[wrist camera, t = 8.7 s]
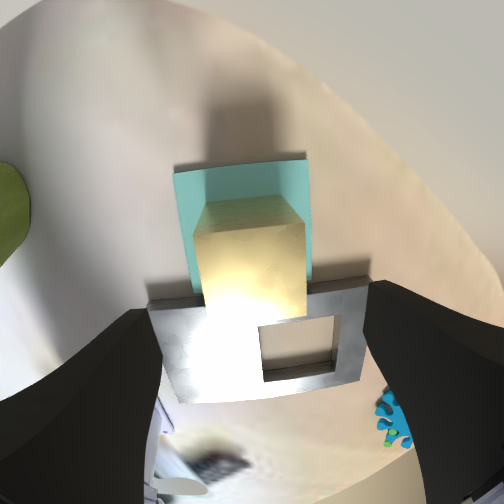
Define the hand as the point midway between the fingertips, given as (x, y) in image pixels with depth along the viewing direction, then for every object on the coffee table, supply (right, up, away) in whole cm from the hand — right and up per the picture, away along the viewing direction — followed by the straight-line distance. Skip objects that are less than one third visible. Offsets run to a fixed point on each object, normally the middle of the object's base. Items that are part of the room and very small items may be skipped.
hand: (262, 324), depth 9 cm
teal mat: (-1, +4, +9) cm, 10 cm away
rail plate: (+1, -5, +13) cm, 14 cm away
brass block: (-1, +3, +9) cm, 10 cm away
